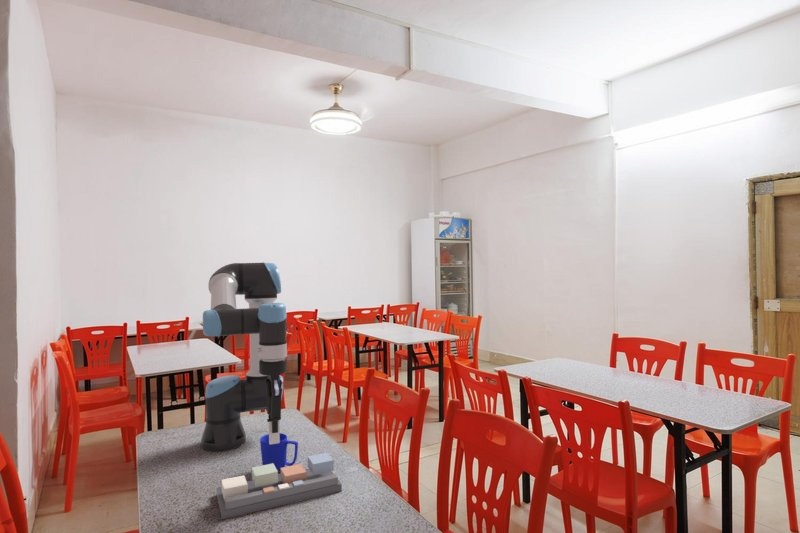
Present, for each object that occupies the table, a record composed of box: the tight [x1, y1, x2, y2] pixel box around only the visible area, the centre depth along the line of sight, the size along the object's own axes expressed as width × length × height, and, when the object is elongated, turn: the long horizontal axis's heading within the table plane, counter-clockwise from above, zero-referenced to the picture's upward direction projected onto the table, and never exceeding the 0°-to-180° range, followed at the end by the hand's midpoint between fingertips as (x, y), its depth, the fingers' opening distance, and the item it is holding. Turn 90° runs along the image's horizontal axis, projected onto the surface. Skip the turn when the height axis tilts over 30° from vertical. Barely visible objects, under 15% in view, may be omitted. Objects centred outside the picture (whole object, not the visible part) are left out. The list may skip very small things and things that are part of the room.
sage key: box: [251, 463, 279, 487], centre depth 132 cm, size 6×6×3 cm
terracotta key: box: [280, 463, 307, 484], centre depth 136 cm, size 6×6×3 cm
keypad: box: [215, 468, 343, 520], centre depth 134 cm, size 14×32×4 cm, turn 116°
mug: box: [259, 432, 299, 473], centre depth 149 cm, size 8×12×10 cm
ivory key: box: [221, 475, 248, 501], centre depth 129 cm, size 6×6×3 cm
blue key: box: [307, 452, 335, 475], centre depth 139 cm, size 6×6×3 cm
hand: (274, 442), depth 133 cm, fingers closed
